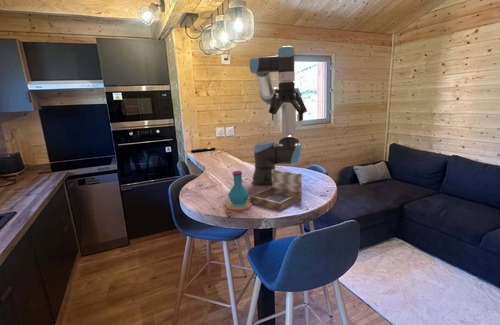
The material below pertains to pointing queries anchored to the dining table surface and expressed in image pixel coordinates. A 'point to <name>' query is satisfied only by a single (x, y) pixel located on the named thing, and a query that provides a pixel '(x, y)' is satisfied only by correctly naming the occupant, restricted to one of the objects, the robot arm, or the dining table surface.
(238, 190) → the perfume bottle
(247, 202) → the saucer
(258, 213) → the dining table surface
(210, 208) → the dining table surface
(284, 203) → the frame
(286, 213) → the dining table surface
